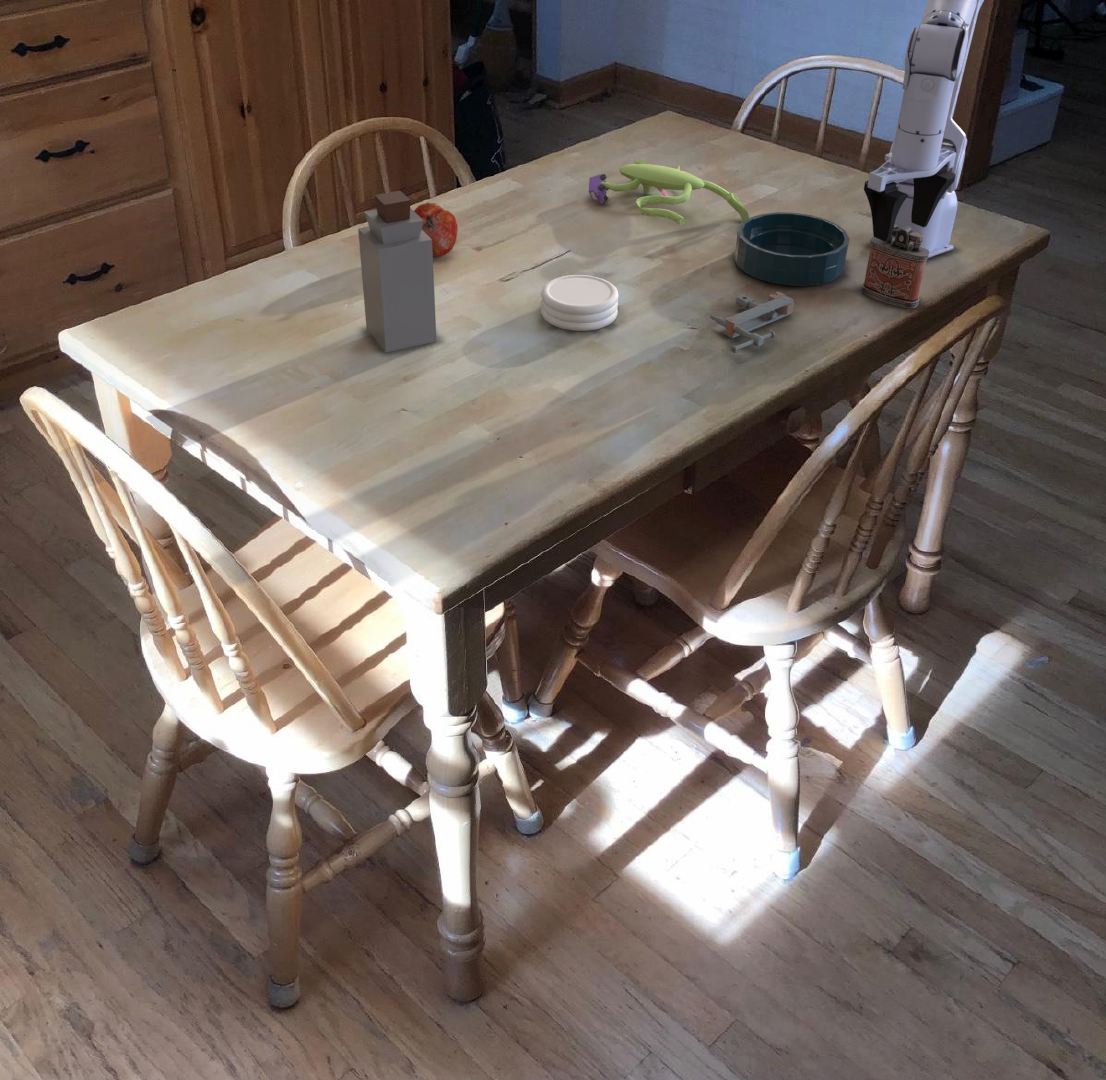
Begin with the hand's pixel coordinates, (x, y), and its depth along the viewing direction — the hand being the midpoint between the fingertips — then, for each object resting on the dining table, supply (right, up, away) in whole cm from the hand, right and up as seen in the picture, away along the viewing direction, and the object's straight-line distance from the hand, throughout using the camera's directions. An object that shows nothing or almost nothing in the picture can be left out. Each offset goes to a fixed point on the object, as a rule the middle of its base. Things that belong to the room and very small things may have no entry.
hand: (900, 231), depth 160 cm
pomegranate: (-63, 0, +14) cm, 64 cm away
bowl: (-12, -1, +13) cm, 18 cm away
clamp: (-20, -13, -2) cm, 24 cm away
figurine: (-28, +10, +28) cm, 41 cm away
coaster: (-42, -11, 0) cm, 43 cm away
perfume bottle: (-64, -15, -5) cm, 66 cm away
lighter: (0, -8, +5) cm, 9 cm away
